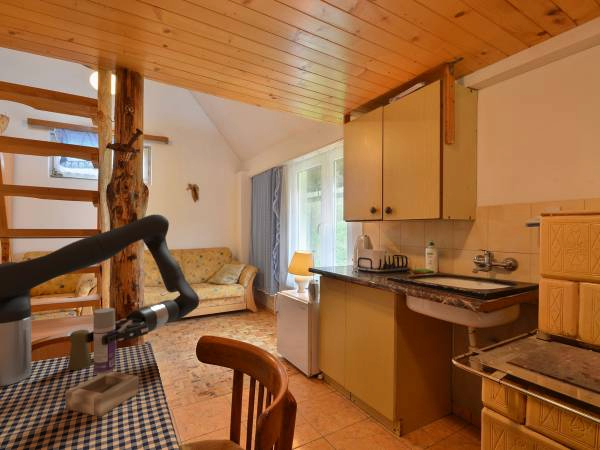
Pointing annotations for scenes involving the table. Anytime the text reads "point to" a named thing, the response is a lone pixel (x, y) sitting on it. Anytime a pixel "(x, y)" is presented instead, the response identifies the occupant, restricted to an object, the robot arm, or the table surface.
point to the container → (102, 353)
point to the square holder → (92, 398)
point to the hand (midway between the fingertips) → (94, 339)
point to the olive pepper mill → (79, 351)
